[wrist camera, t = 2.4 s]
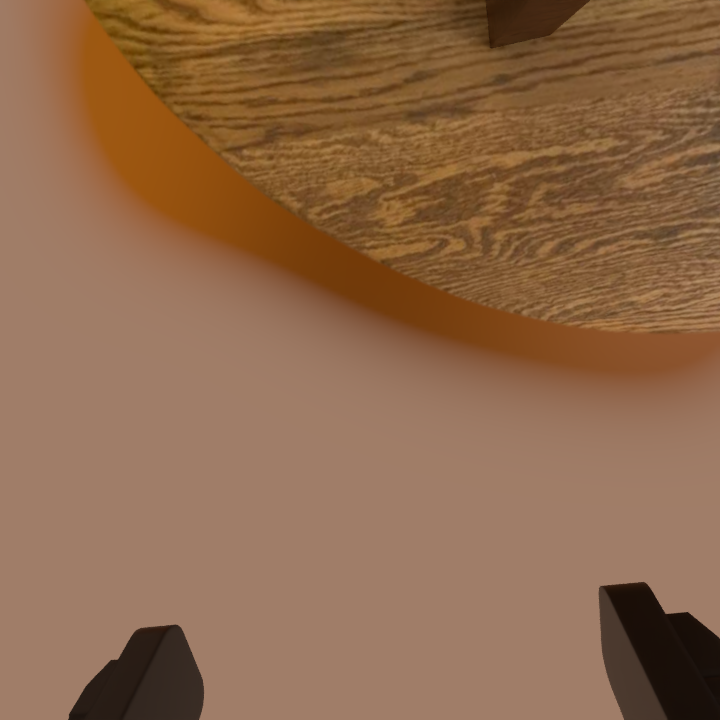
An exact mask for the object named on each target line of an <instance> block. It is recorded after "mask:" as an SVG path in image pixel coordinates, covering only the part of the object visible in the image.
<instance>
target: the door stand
mask: <svg viewBox="0 0 720 720" xmlns="http://www.w3.org/2000/svg"><path fill="white" fill-rule="evenodd" d="M589 1H590V0H486V7H487V18H488V28H489V39H490V48H491V49H492V48H496V47H501V46H505V45H509V44H514V43H518V42H522V41H527V40H531V39H535V38H540V37H544V36H548V35H550V34H552V33H553V32H554V31H555V30H556V29H557V28H559V27H560V26H561V25H562V24H563V23H564V22H565V21H567V20H568V19H569V18H570V17H571V16H572V15H574V14H575V13H576V12H577V11H578V10H579V9H581V8H582V7H583V6H584V5H585V4H586V3H587V2H589Z"/></svg>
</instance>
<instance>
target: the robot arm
mask: <svg viewBox="0 0 720 720" xmlns="http://www.w3.org/2000/svg"><path fill="white" fill-rule="evenodd" d="M599 606H600V624H601V642H602V653H603V659H604V664H605V667H606V671H607V675H608V678H609V681H610V685H611V687H612V690H613V692H614V695H615V697H616V700H617V703H618V705H619V707H620V710H621V712H622V715H623V717H624V720H720V639H719V637H717V636H716V635H715V634H714V633H713V632H712V631H710V630H709V629H708V628H707V627H705V626H704V625H703V624H702V623H700V622H699V621H698V620H697V619H696V618H694V617H693V616H692V615H691V614H689V613H688V612H684V613H674V614H665V612H664V611H663V609H662V607H661V605H660V604H659V602H658V600H657V599H656V597H655V595H654V593H653V592H652V590H651V589H650V587H649V586H648V585H647V584H646V583H645V582H638V583H628V584H618V585H607V586H600V588H599ZM203 700H204V686H203V680H202V677H201V674H200V672H199V669H198V667H197V664H196V662H195V660H194V657H193V655H192V652H191V650H190V647H189V645H188V642H187V640H186V638H185V635H184V633H183V631H182V629H181V627H179V626H178V625H167V626H157V627H147V628H140V629H138V630H136V631H135V632H134V634H133V635H132V636H131V638H130V640H129V641H128V643H127V645H126V647H125V649H124V650H123V652H122V654H121V656H120V657H119V659H118V660H111V661H110V662H109V663H108V664H107V665H106V666H105V667H104V668H103V669H102V670H101V671H100V672H99V673H98V674H97V675H96V676H95V677H94V678H93V679H92V680H91V682H90V683H89V684H88V685H87V686H86V687H85V689H84V691H83V692H82V694H81V695H80V697H79V699H78V701H77V702H76V704H75V705H74V707H73V709H72V711H71V712H70V714H69V719H68V720H199V718H200V715H201V712H202V707H203Z"/></svg>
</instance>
